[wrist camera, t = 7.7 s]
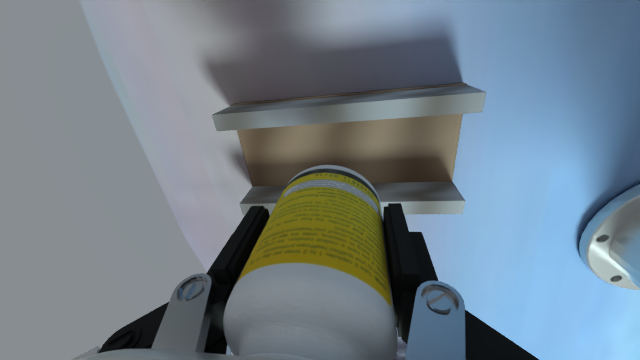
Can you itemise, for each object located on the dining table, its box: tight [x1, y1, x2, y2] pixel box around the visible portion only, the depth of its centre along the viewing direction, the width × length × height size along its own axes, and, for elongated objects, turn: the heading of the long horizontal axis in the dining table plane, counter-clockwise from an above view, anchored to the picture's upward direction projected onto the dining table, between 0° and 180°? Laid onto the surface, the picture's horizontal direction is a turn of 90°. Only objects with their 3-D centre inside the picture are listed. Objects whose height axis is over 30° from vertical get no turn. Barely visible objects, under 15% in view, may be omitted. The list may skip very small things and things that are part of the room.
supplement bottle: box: [223, 165, 397, 360], centre depth 9 cm, size 5×5×10 cm
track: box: [212, 83, 486, 215], centre depth 20 cm, size 18×9×4 cm, turn 96°
